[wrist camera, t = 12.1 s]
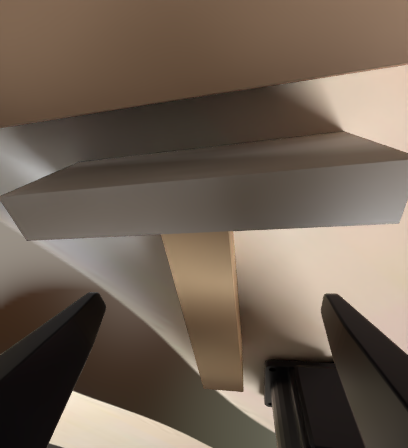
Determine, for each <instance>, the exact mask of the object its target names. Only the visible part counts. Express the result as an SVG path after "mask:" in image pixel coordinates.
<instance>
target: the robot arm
mask: <svg viewBox="0 0 408 448" xmlns="http://www.w3.org/2000/svg"><path fill="white" fill-rule="evenodd" d="M105 310H106V305H105V303H104V301H103V299H102V297H101V295H100V294H99V293H98V292H90V293H87V294H86V295H84V296H83V297H81V298H80V299H79V300H77V301H76V302H74V303H73V304H72V305H70V306H69V307H67V308H66V309H65V310H63V311H62V312H60V313H59V314H57V315H56V316H55V317H53V318H52V319H50V320H49V321H47V322H46V323H45V324H43V325H42V326H40V327H39V328H38V329H36V330H35V331H33V332H32V333H30V334H29V335H28V336H26V337H25V338H23V339H22V340H21V341H19V342H18V343H16V344H15V345H13V346H12V347H11V348H10V349H8V350H6V351H5V352H4V353H2V354H1V355H0V448H47V446H48V444H49V441H50V439H51V437H52V435H53V433H54V430H55V428H56V426H57V424H58V422H59V419H60V417H61V415H62V413H63V411H64V408H65V406H66V404H67V402H68V400H69V397H70V395H71V393H72V391H73V389H74V387H75V384H76V382H77V380H78V377H79V376H80V373H81V371H82V369H83V367H84V365H85V362H86V360H87V358H88V356H89V354H90V351H91V349H92V347H93V344H94V342H95V339H96V336H97V333H98V330H99V327H100V325H101V322H102V319H103V316H104V313H105ZM321 314H322V318H323V322H324V326H325V330H326V334H327V338H328V341H329V345H330V349H331V353H332V356H333V360H334V363H335V364H334V363H317V362H299V361H282V360H267V361H266V362H265V368H264V401H265V405H266V406H268V407H272V408H273V416H274V425H275V434H276V442H277V448H408V355H407V354H406V353H405V352H404V351H403V350H402V349H400V348H399V347H398V346H397V345H396V344H395V343H394V342H392V341H391V340H390V339H389V338H388V337H387V336H386V335H384V334H383V333H382V332H381V331H380V330H379V329H377V328H376V327H375V326H374V325H373V324H372V323H371V322H369V321H368V320H367V319H366V318H365V317H364V316H363V315H361V314H360V313H359V312H358V311H357V310H356V309H354V308H353V307H352V306H351V305H350V304H349V303H348V302H346V301H345V300H344V299H343V298H342V297H341V296H340V295H338V294H325V295H324V297H323V302H322V307H321Z"/></svg>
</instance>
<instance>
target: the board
mask: <svg viewBox="0 0 408 448" xmlns="http://www.w3.org/2000/svg"><path fill="white" fill-rule="evenodd" d="M402 65H408V0H0V128H5V127H12V126H18V125H24V124H31V123H37V122H44V121H50V120H56V119H63V118H69V117H76V116H82V115H88V114H95V113H101V112H108V111H114V110H120V109H127V108H133V107H139V106H146V105H152V104H159V103H165V102H171V101H178V100H184V99H191V98H197V97H203V96H210V95H216V94H223V93H229V92H235V91H242V90H248V89H255V88H261V87H267V86H274V85H280V84H287V83H293V82H299V81H306V80H312V79H318V78H325V77H331V76H338V75H344V74H350V73H357V72H363V71H370V70H376V69H382V68H389V67H395V66H402Z"/></svg>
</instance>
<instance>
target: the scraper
mask: <svg viewBox="0 0 408 448" xmlns="http://www.w3.org/2000/svg"><path fill="white" fill-rule="evenodd" d="M407 200H408V153H406V152H403V151H400V150H397V149H394V148H391V147H388V146H385V145H382V144H379V143H377V142H374V141H371V140H368V139H365V138H362V137H359V136H356V135H353V134H350V133H347V132H345V131H342V132H333V133H325V134H316V135H307V136H299V137H290V138H282V139H273V140H264V141H256V142H247V143H238V144H230V145H221V146H213V147H204V148H195V149H187V150H178V151H169V152H161V153H152V154H144V155H135V156H126V157H118V158H109V159H100V160H92V161H83V162H78V163H75V164H73V165H71V166H68V167H66V168H64V169H62V170H59V171H57V172H55V173H52V174H50V175H48V176H45V177H43V178H41V179H38V180H36V181H34V182H31V183H29V184H27V185H25V186H22V187H20V188H18V189H15V190H13V191H11V192H8V193H6V194H4V195H1V196H0V201H1V202H2V204H3V205H4V207H5V208H6V210H7V211H8V213H9V214H10V216H11V217H12V219H13V221H14V222H15V224H16V225H17V227H18V228H19V230H20V231H21V233H22V234H23V236H24V237H25V239H26V240H27V241H30V240H52V239H73V238H95V237H117V236H138V235H160V234H161V237H162V241H163V244H164V248H165V251H166V255H167V259H168V262H169V266H170V269H171V273H172V277H173V280H174V284H175V287H176V291H177V294H178V298H179V302H180V305H181V309H182V312H183V316H184V320H185V323H186V327H187V330H188V334H189V337H190V341H191V345H192V348H193V352H194V355H195V359H196V363H197V366H198V370H199V373H200V377H201V381H202V384H203V388H204V389H214V390H226V391H238V392H243V358H242V336H241V323H240V311H239V298H238V286H237V274H236V261H235V249H234V236H233V231H246V230H268V229H289V228H311V227H333V226H354V225H376V224H397V223H399V222H400V219H401V217H402V214H403V211H404V208H405V206H406V203H407Z"/></svg>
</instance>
